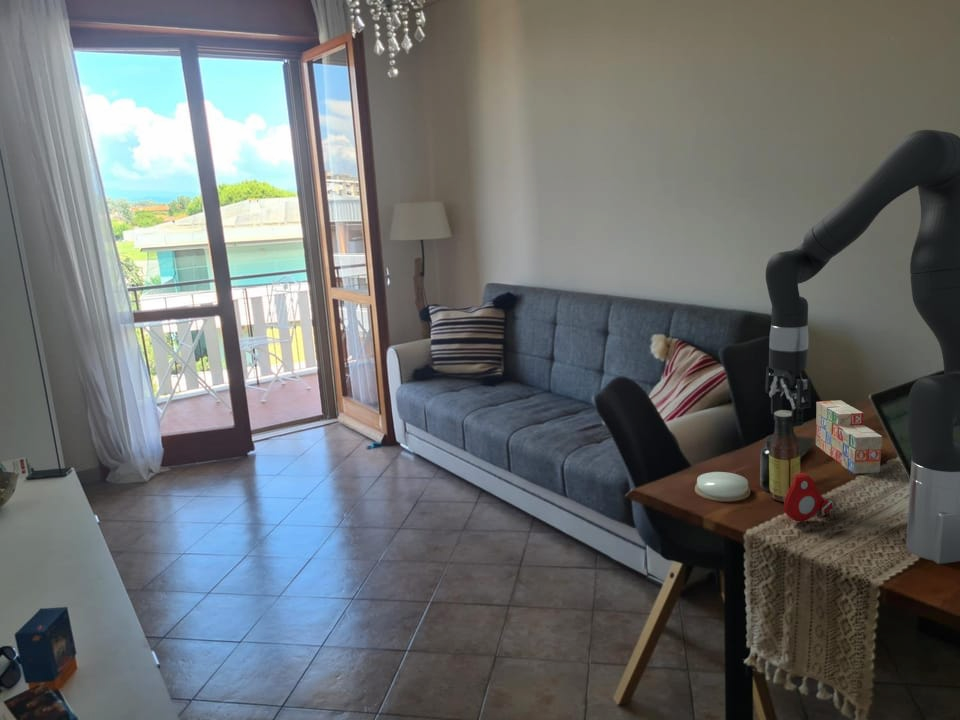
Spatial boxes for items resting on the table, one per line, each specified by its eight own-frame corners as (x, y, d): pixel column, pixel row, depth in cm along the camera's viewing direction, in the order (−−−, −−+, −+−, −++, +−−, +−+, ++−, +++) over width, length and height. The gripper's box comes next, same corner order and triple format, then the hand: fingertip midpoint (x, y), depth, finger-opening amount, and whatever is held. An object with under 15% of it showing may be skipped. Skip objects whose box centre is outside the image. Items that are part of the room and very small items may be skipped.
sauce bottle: (794, 490, 159) (797, 406, 154) (804, 503, 153) (807, 417, 148) (764, 491, 160) (766, 408, 154) (772, 504, 154) (774, 418, 148)
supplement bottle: (782, 497, 157) (784, 447, 154) (754, 488, 163) (755, 439, 159) (798, 486, 161) (800, 437, 158) (770, 478, 167) (771, 430, 163)
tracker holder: (789, 529, 142) (790, 482, 140) (775, 520, 147) (776, 474, 144) (840, 518, 145) (842, 472, 143) (824, 510, 150) (826, 465, 147)
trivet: (760, 498, 157) (760, 487, 157) (708, 504, 156) (708, 493, 156) (735, 478, 169) (735, 468, 168) (686, 484, 168) (686, 474, 167)
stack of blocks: (880, 474, 166) (883, 423, 164) (853, 475, 167) (855, 425, 164) (839, 444, 187) (840, 399, 185) (814, 445, 188) (816, 400, 185)
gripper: (825, 351, 143) (821, 427, 147) (787, 338, 157) (785, 408, 160) (789, 354, 142) (787, 431, 146) (755, 341, 156) (753, 411, 160)
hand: (786, 419), depth 153 cm, fingers open, 8 cm apart
